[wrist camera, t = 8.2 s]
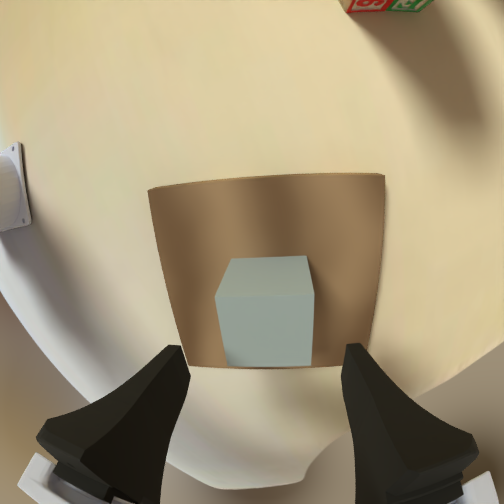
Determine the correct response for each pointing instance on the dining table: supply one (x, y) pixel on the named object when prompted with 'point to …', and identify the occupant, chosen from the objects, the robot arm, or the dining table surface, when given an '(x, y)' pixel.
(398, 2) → the stack of blocks
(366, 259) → the walnut board
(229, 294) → the slate cube
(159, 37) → the dining table surface
